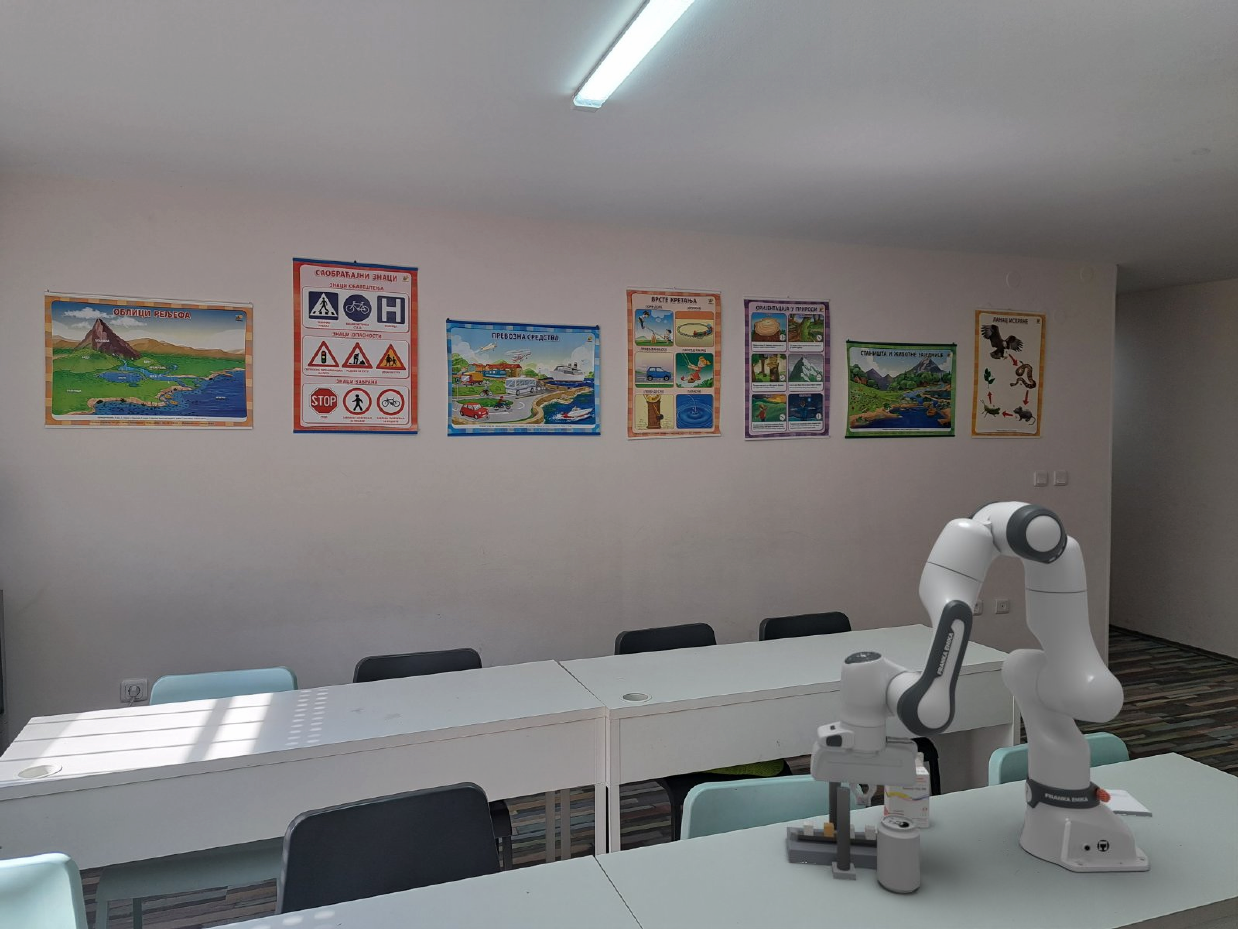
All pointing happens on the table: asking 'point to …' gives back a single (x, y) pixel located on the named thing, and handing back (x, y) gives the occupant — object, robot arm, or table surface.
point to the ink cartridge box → (910, 797)
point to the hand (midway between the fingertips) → (862, 804)
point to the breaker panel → (828, 850)
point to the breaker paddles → (831, 836)
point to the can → (898, 853)
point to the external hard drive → (1125, 804)
